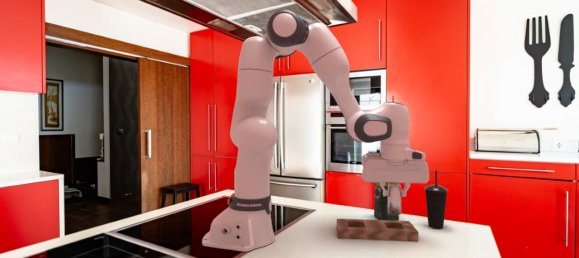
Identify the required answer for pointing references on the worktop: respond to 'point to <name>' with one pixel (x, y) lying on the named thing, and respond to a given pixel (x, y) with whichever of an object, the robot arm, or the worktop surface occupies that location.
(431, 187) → the drinking cup
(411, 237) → the board
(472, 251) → the worktop surface
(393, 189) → the pin
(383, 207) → the coffee jar
